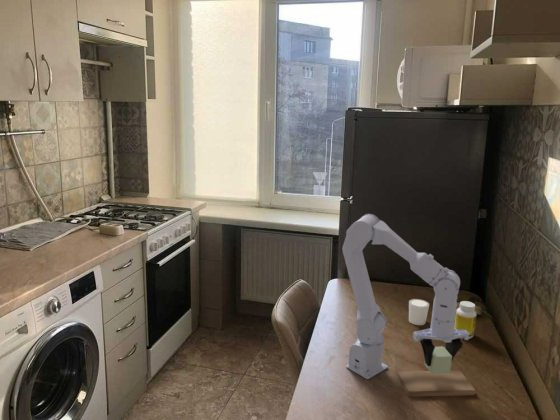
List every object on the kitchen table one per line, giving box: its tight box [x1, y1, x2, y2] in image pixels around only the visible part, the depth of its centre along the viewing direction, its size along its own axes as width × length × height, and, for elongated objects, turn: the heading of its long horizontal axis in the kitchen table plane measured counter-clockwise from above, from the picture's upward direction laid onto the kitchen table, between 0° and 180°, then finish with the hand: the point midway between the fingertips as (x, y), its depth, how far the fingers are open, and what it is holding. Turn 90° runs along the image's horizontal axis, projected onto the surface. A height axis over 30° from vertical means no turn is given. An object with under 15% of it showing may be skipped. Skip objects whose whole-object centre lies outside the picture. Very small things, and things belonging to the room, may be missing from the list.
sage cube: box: [423, 345, 453, 374], centre depth 125 cm, size 5×5×5 cm
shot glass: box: [408, 298, 430, 326], centre depth 162 cm, size 7×7×7 cm
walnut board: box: [396, 370, 476, 398], centre depth 126 cm, size 9×18×2 cm, turn 95°
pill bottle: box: [454, 300, 477, 340], centre depth 153 cm, size 6×6×11 cm
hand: (437, 363), depth 125 cm, fingers closed on sage cube, 5 cm apart
